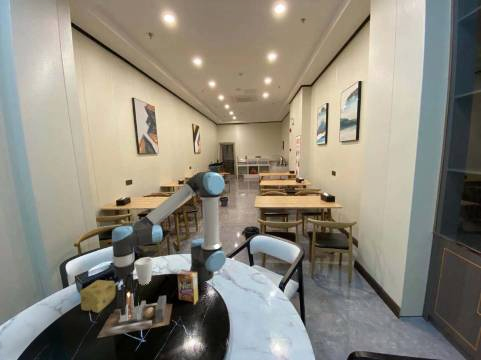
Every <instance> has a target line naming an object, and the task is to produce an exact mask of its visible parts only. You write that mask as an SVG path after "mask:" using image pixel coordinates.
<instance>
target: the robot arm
mask: <svg viewBox="0 0 481 360" xmlns="http://www.w3.org/2000/svg"><path fill="white" fill-rule="evenodd" d="M224 189H225V179H224V177H223V176H222V175H221V174H220V173H217V172H215V171H214V172H213V171H200V172H198V173H196V174H193V176H191V177H190V178H188V179H186V181H185V182H183V185H182V186H181V187H180V188H179V189H177V190H176V191H175V192H174V193H172V194H171V195H170V196H169V197H168V198H166V199H165V200H164V201H162V202H161V203H160V204H159V205H157V207H155V208H154V209H152V210H151V211H150V212H149V213H148V214H147V215H145V216H144V217H142V219H136V220H135V221H134V222H133V223H132V226H131V225H122V226H118V227H115V228H114V229H113V230H112V232H111V243H112V259H113V265H114V266H113V271H114V272H113V273H114V275H115V276H116V277H118V279H117V280H118V284H115V291H116V309H117V310H118V309H120V320H121V322H123V321H128V305H126V303H127V291H130V294H131V309H133V308H134V307H135V305H134V294H135V293H136V290H135V281H134V271H135V270H136V268H135V251H134V249H135V248H137V247H141V246H145V245H151V244H154V243H157V242H161V241H162V239H163V236H164V235H163V229H162V226H161V225H159V224H161V223H162V222H163V221H164V220H165V219H167V217H169V216H170V215H171V214H172V213H174V212H175V211H176V210H177V209H178V208H179V207H181V206H182V205H183V204H184V203H185V202H187V201H188V200H189V199H190V198H191V197H195V196H196V195H198V194H199V198H200V199H201V200H202V222H203V223H202V224H203V227H202V229H203V231H202V232H203V237H199V238H195V239H193V240H191V242H190V246H189V247H190V261H191V263H190V264H191V265H190V269H189V271H193V272H197V284H201V283H206V282H208V281H210V280H211V279H213V278H214V275H215V274H214V272H219V271H220V270H221V269H222V268H223V266H224V265H225V263H226V261H227V256H226V255H227V254H226V253H225V252H224V251H223V243H222V242H221V241H220V220H219V219H220V218H219V217H220V216H219V214H220V213H219V199H221V197H222V193H223V191H224Z"/></svg>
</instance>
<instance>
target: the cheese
mask: <svg viewBox="0 0 481 360" xmlns="http://www.w3.org/2000/svg"><path fill="white" fill-rule="evenodd" d="M79 296H80V307H81V311H87V312H90V311H92V312H93V313H101V311H102V310H103V309H105V307H107V306H109V305H110V304H111V303H112V302H113V301H114V298H115V297H116V284H115V280H101V279H97V280H95V281H94V282H92V283H91V284H89V285H87V286H86V287H85V288H83V289H80V290H79Z"/></svg>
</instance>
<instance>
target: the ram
mask: <svg viewBox="0 0 481 360" xmlns="http://www.w3.org/2000/svg"><path fill="white" fill-rule="evenodd" d="M126 305H128V321H123V322H121V320H120V319H119V321H118V326H122V325H127V324H133V323H139V322H143V319H144V316H145V312H146V305H147V302H146V300H141V302H140V305H139V306H140V307H139V308H134V309H131V294H130V291H127V303H126Z"/></svg>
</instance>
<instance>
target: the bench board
mask: <svg viewBox="0 0 481 360" xmlns="http://www.w3.org/2000/svg"><path fill="white" fill-rule="evenodd" d="M139 307H140V305H136V306H135V305H134V308H139ZM150 307H152V308H154V309H155V314H154V316H153V317H151V318H147V317H146V316H144V319H143V322H139V323H133V324H127V325H122V326H118V321H119V319H120V309H118V310H117V308H115V309H114V310H113V313H110V314H109V316H108V318H107V319H106V321H105V323H104V325H103V326H102V328H101V330H100V332H99V333H98V334H97V337H96V339H99V338H104V337H105V338H106V337H109V336H115V335H122V334H125V333H131V332H136V331H137V332H138V331H142V330H148V329H153V328H158V327H162V326H163V327H164V326H169V325H170V321H171V316H172V309H173V303H167V295H159V296H158V300H157V301H156V302H154V303H148V304H147V303H146V310H147V309H148V308H150ZM134 308H133V309H134Z"/></svg>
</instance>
